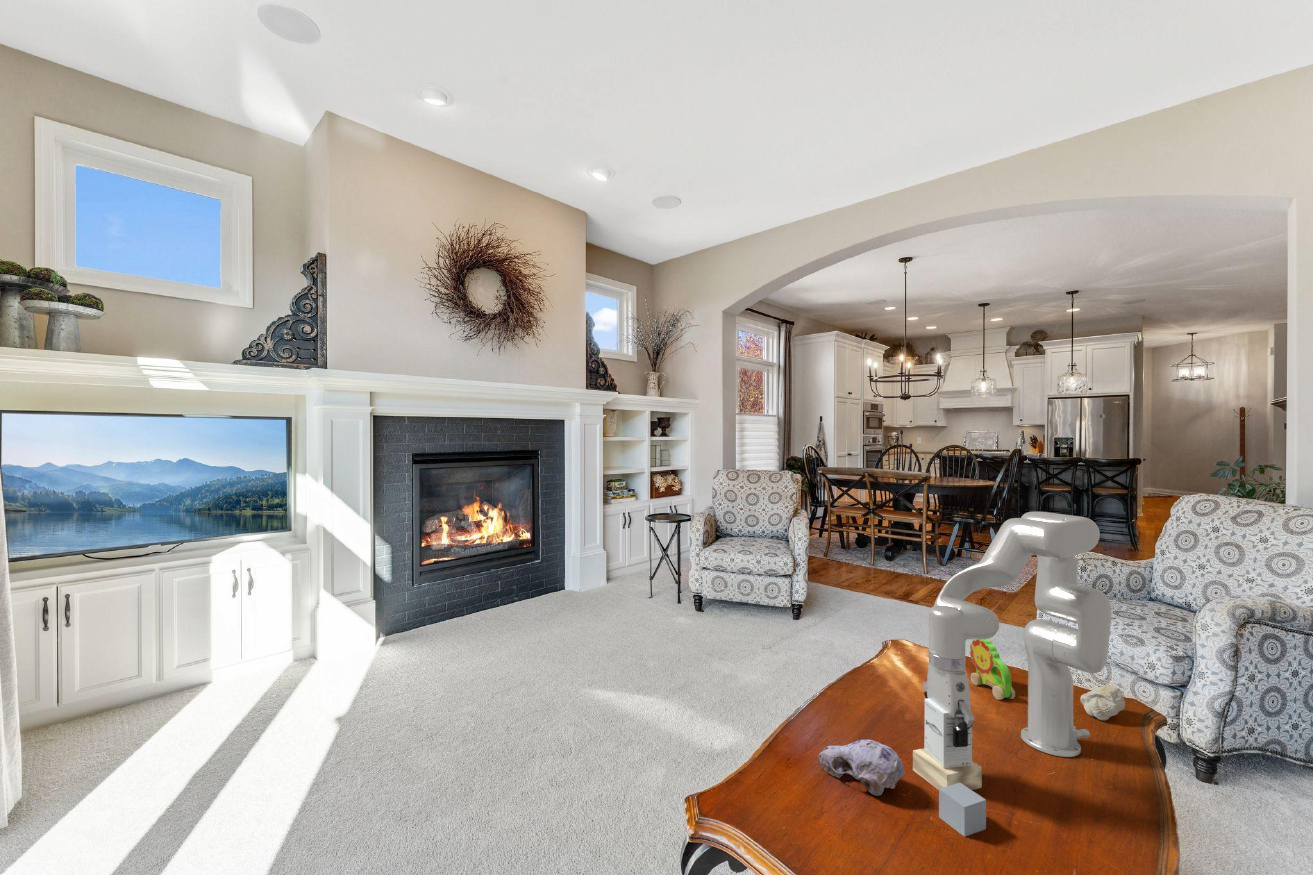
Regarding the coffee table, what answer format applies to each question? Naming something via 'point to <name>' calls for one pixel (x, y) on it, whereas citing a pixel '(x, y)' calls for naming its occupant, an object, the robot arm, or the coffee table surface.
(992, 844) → the coffee table surface
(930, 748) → the supplement box
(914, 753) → the maple block
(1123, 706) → the fossil replica
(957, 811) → the slate block
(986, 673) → the toy lion
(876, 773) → the skull
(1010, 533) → the robot arm
